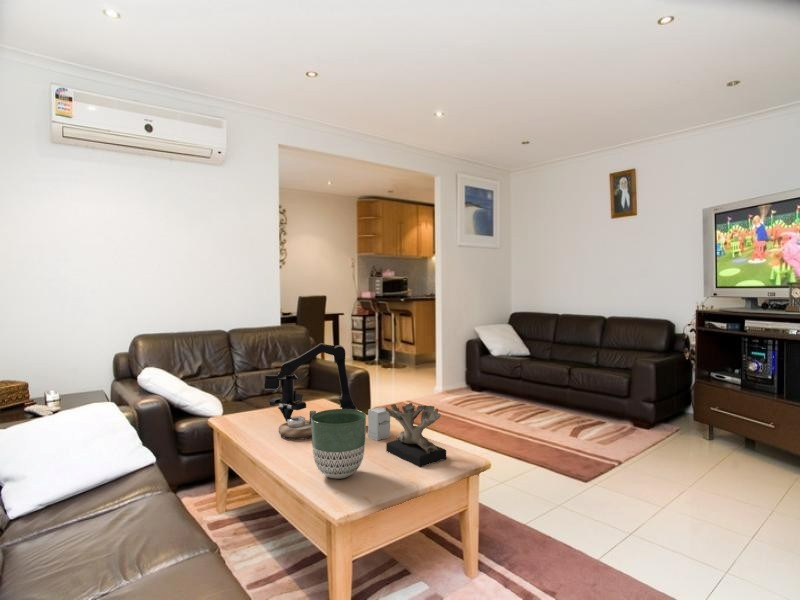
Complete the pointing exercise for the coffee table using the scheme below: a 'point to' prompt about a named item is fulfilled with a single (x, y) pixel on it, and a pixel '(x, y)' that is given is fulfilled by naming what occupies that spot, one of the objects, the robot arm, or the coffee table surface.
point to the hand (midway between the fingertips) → (287, 421)
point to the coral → (415, 436)
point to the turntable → (297, 429)
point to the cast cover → (296, 422)
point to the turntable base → (298, 437)
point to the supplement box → (378, 424)
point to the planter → (338, 441)
